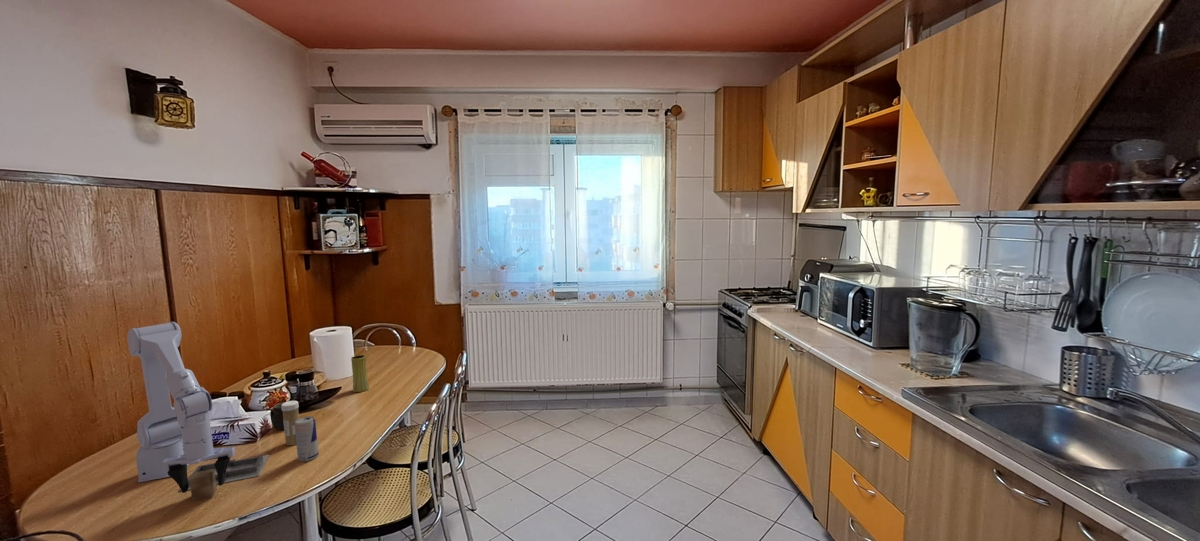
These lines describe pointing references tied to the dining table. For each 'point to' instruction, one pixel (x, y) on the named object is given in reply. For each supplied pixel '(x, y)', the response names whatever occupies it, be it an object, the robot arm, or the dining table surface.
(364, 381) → the vase
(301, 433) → the energy drink
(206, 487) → the walnut peg
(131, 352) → the robot arm
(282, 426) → the mate gourd
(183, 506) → the dining table surface
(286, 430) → the sprinkles bottle
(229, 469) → the keyhole plate
